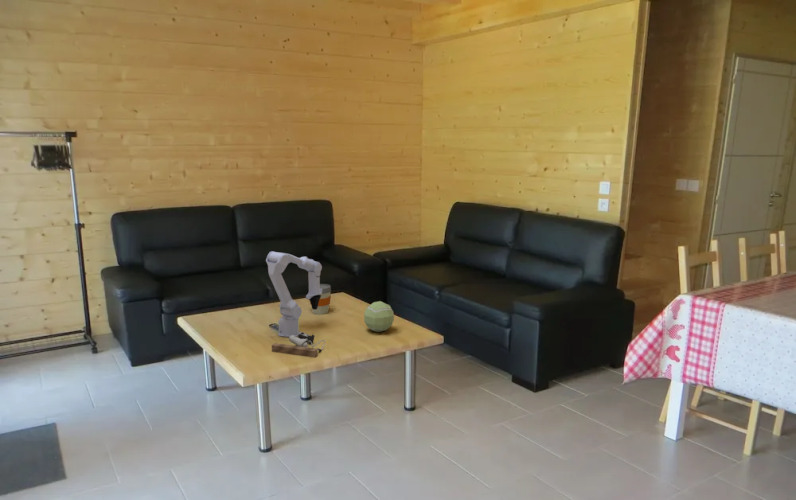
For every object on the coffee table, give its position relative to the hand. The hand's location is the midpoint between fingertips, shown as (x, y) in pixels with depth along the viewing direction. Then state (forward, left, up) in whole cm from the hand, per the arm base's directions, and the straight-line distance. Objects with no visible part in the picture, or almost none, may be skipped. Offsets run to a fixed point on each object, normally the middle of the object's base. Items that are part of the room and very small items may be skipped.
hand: (314, 309), depth 301 cm
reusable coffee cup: (-9, +24, -10) cm, 27 cm away
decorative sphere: (+34, +5, -10) cm, 36 cm away
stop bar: (+9, -38, -9) cm, 40 cm away
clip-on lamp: (+12, -29, -10) cm, 33 cm away
